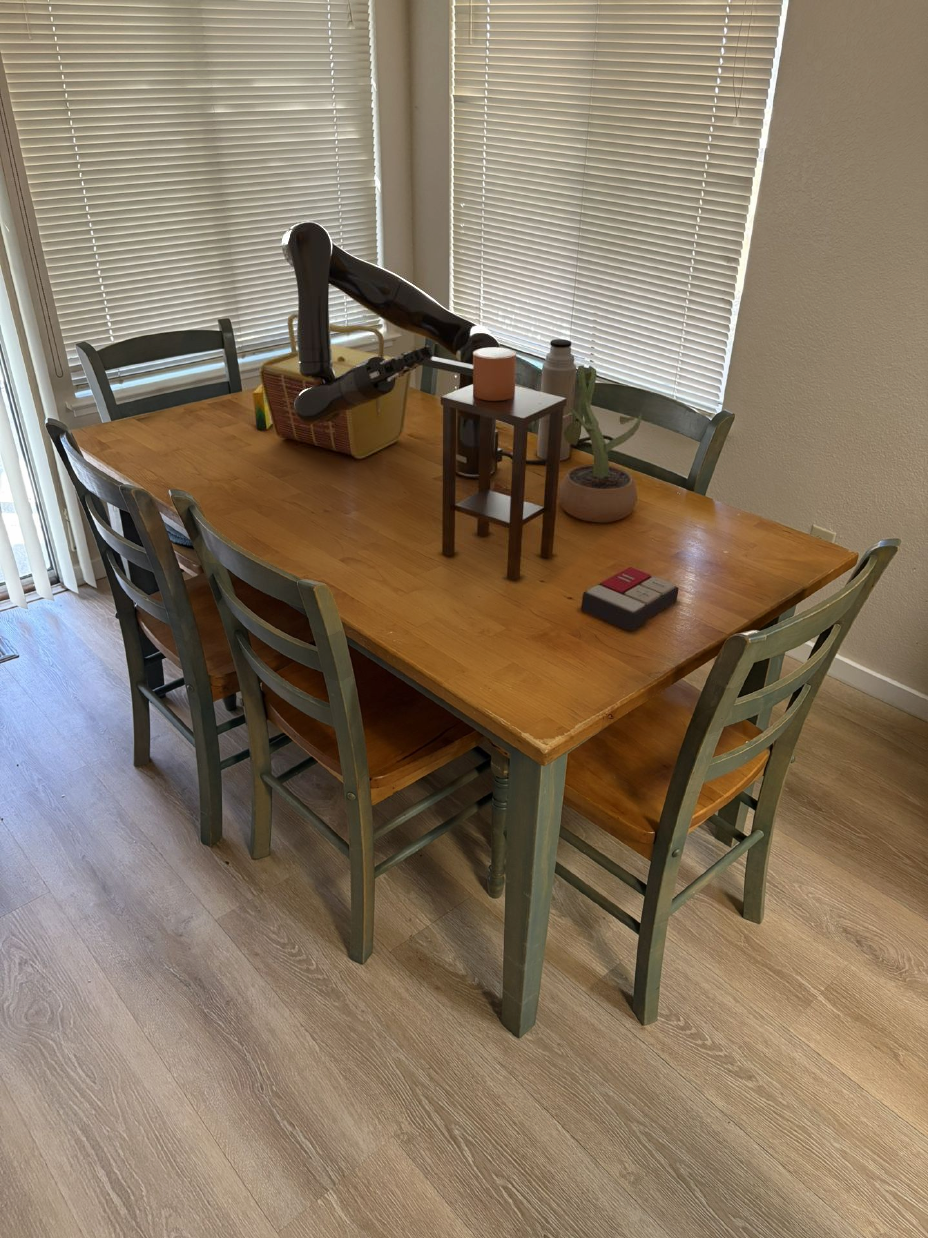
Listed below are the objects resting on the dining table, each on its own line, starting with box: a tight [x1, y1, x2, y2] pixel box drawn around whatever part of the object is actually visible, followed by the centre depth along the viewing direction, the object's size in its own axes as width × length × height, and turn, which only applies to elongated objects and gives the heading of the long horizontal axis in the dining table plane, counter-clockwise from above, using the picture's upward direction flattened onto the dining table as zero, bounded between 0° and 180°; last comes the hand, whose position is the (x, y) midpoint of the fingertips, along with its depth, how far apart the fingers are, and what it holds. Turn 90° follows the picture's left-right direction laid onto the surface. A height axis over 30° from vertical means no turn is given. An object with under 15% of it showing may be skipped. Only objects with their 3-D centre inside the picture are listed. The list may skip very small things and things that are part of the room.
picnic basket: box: [258, 312, 412, 460], centre depth 229 cm, size 29×26×30 cm
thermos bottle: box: [536, 338, 577, 461], centre depth 224 cm, size 8×8×28 cm
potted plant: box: [545, 365, 642, 524], centre depth 198 cm, size 22×18×30 cm
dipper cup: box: [400, 347, 517, 401], centre depth 172 cm, size 25×8×8 cm, turn 53°
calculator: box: [580, 566, 680, 633], centre depth 168 cm, size 11×4×15 cm
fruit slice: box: [490, 480, 511, 497], centre depth 203 cm, size 8×7×5 cm
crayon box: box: [252, 383, 273, 430], centre depth 243 cm, size 7×3×12 cm, turn 172°
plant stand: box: [440, 384, 567, 582], centre depth 176 cm, size 18×14×32 cm
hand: (425, 352), depth 175 cm, fingers closed on dipper cup
